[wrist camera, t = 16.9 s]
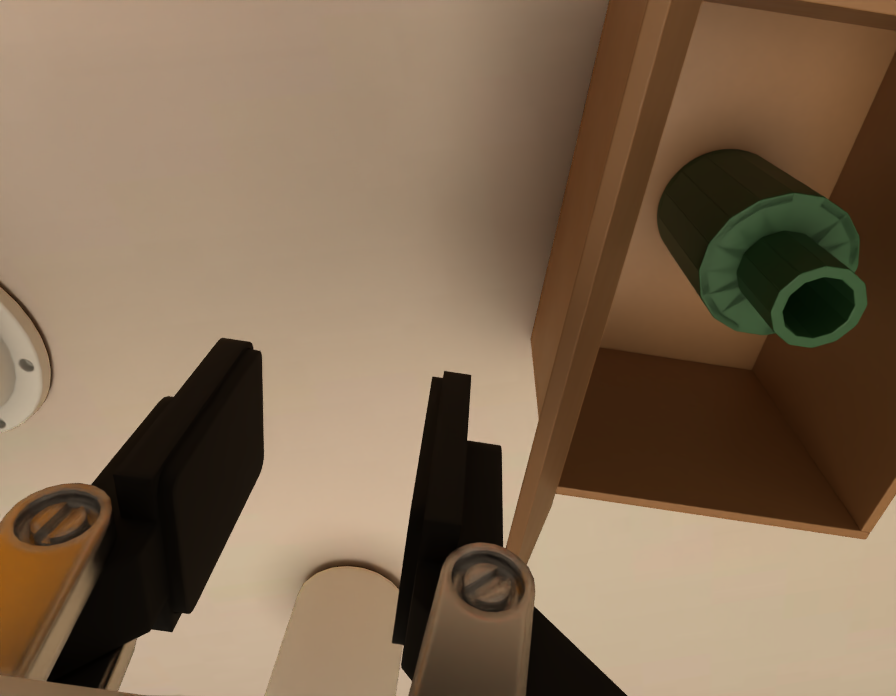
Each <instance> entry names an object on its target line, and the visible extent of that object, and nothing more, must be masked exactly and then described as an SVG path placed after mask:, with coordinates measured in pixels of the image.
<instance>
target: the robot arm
mask: <svg viewBox="0 0 896 696" xmlns="http://www.w3.org/2000/svg"><path fill="white" fill-rule="evenodd" d="M50 378H51V369H50V363H49V357H48V354H47V351H46V348H45V346H44V343H43V340H42V338H41V336H40V334H39V333H38V331H37V329H36V328H35V326H34V324H33V323H32V321H31V319H30V318H29V317H28V316H27V314H26V313H25V312H24V311H23V310H22V308H21V307H20V306H19V305H18V303H17V302H16V301H15V300H14V299H13V298H11V297H10V296H9V295H8V294H7V293H6V292H5V291H4V290H3V289H2V288H1V287H0V433H2V432H6V431H9V430H12V429H14V428H16V427H17V426H19V425H21V424H23V423H24V422H25V421H26V420H28V419H29V418H30V417H31V416H32V415H33V414H34V413H35V412H36V411H37V410H38V409H39V408H40V406H41V405H42V404H43V402H44V401H45V399H46V396H47V394H48V391H49V388H50ZM470 387H471V375H467V374H461V373H454V372H447V371H444V375H443V378H439V377H432V382H431V389H430V395H429V401H428V407H427V413H426V419H425V425H424V431H423V438H422V444H421V450H420V456H419V462H418V468H417V474H416V481H415V487H414V493H413V499H412V505H411V511H410V518H409V525H408V531H407V538H406V545H405V552H404V559H403V567H402V574H401V581H400V588H399V595H398V602H397V609H396V616H395V623H394V630H393V637H392V643H393V644H400V645H404V649H403V656H402V663H401V665H402V667H401V668H402V669H403V670H404V672H405V673H406V674H407V675H408V677H409V678H410V679H411V680H412V684H411V688H410V691H409V695H408V696H627V695H626V694H625V693H624V692H623V691H622V690H621V689H620V688H619V687H618V686H617V685H616V684H615V683H614V682H613V681H611V680H610V679H609V678H608V677H607V676H606V675H605V674H604V673H603V672H602V671H601V670H600V669H599V668H598V667H597V666H596V665H595V664H594V663H593V662H592V661H591V660H590V659H589V658H588V657H586V656H585V655H584V654H583V653H582V652H581V651H580V650H579V649H578V648H577V647H576V646H575V645H574V644H573V643H572V642H571V641H570V640H569V639H568V638H567V637H566V636H565V635H564V634H563V633H561V632H560V631H559V630H558V629H557V628H556V627H555V626H554V625H553V624H552V623H551V622H550V621H549V620H548V619H547V618H546V617H545V616H544V615H543V614H542V613H541V612H540V611H539V610H537V609H536V608H535V607H534V600H535V584H534V578H533V576H532V574H531V572H530V569H529V567H528V566H527V565H526V564H525V563H524V562H523V561H522V559H521V558H520V557H519V556H517V555H516V554H514V553H513V552H511V551H510V550H508V549H506V548H503V508H502V450H501V446H500V445H493V444H487V443H480V442H473V441H467V434H468V418H469V403H470ZM263 460H264V436H263V384H262V354H261V352H260V351H258V350H253V345H252V343H251V342H247V341H240V340H233V339H227V338H221V339H220V340H219V341H218V342H217V343H216V344H215V346H214V347H213V348H212V349H211V351H210V352H209V353H208V354H207V356H206V357H205V358H204V359H203V361H202V362H201V363H200V365H199V366H198V367H197V368H196V370H195V371H194V372H193V373H192V375H191V376H190V377H189V378H188V380H187V381H186V382H185V383H184V385H183V386H182V387H181V388H180V390H179V391H178V392H177V394H176V395H175V396H174V397H170V396H168V397H164V398H163V399H162V400H161V401H159V402H158V404H157V405H156V406H155V407H154V409H153V410H152V411H151V412H150V413H149V415H148V416H147V417H146V418H145V420H144V421H143V422H142V423H141V424H140V426H139V427H138V428H137V429H136V431H135V432H134V433H133V434H132V435H131V437H130V438H129V439H128V440H127V442H126V443H125V444H124V445H123V446H122V448H121V449H120V450H119V451H118V453H117V454H116V455H115V456H114V457H113V459H112V460H111V461H110V462H109V463H108V465H107V466H106V467H105V468H104V470H103V471H102V472H101V473H100V474H99V476H98V477H97V478H96V479H95V481H94V482H93V483H92V484H91V485H88V484H82V483H71V484H61V485H56V486H52V487H48V488H45V489H43V490H40V491H38V492H35V493H33V494H31V495H29V496H28V497H26V498H25V499H23V500H21V501H20V502H18V503H17V504H16V505H15V506H14V507H13V508H12V509H11V510H10V511H9V512H8V513H7V514H6V515H5V517H4V518H3V519H2V521H1V522H0V696H145V695H138V694H131V693H124V692H118V690H119V687H120V685H121V682H122V680H123V677H124V675H125V672H126V670H127V667H128V665H129V662H130V660H131V657H132V655H133V652H134V649H135V645H136V640H137V638H138V637H140V636H142V635H144V634H146V633H148V632H150V630H151V629H153V630H160V631H167V632H173V630H174V628H175V626H176V624H177V622H178V620H179V618H180V616H181V614H182V613H186V614H189V613H191V612H192V611H193V609H194V608H195V606H196V604H197V602H198V600H199V598H200V596H201V594H202V592H203V590H204V587H205V585H206V583H207V581H208V579H209V577H210V575H211V573H212V571H213V569H214V567H215V565H216V563H217V561H218V559H219V557H220V555H221V553H222V551H223V549H224V546H225V544H226V542H227V540H228V538H229V536H230V534H231V532H232V530H233V528H234V526H235V524H236V522H237V520H238V518H239V516H240V514H241V512H242V510H243V508H244V505H245V503H246V501H247V499H248V497H249V495H250V493H251V491H252V489H253V487H254V485H255V483H256V481H257V479H258V477H259V475H260V472H261V469H262V465H263Z"/></svg>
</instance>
